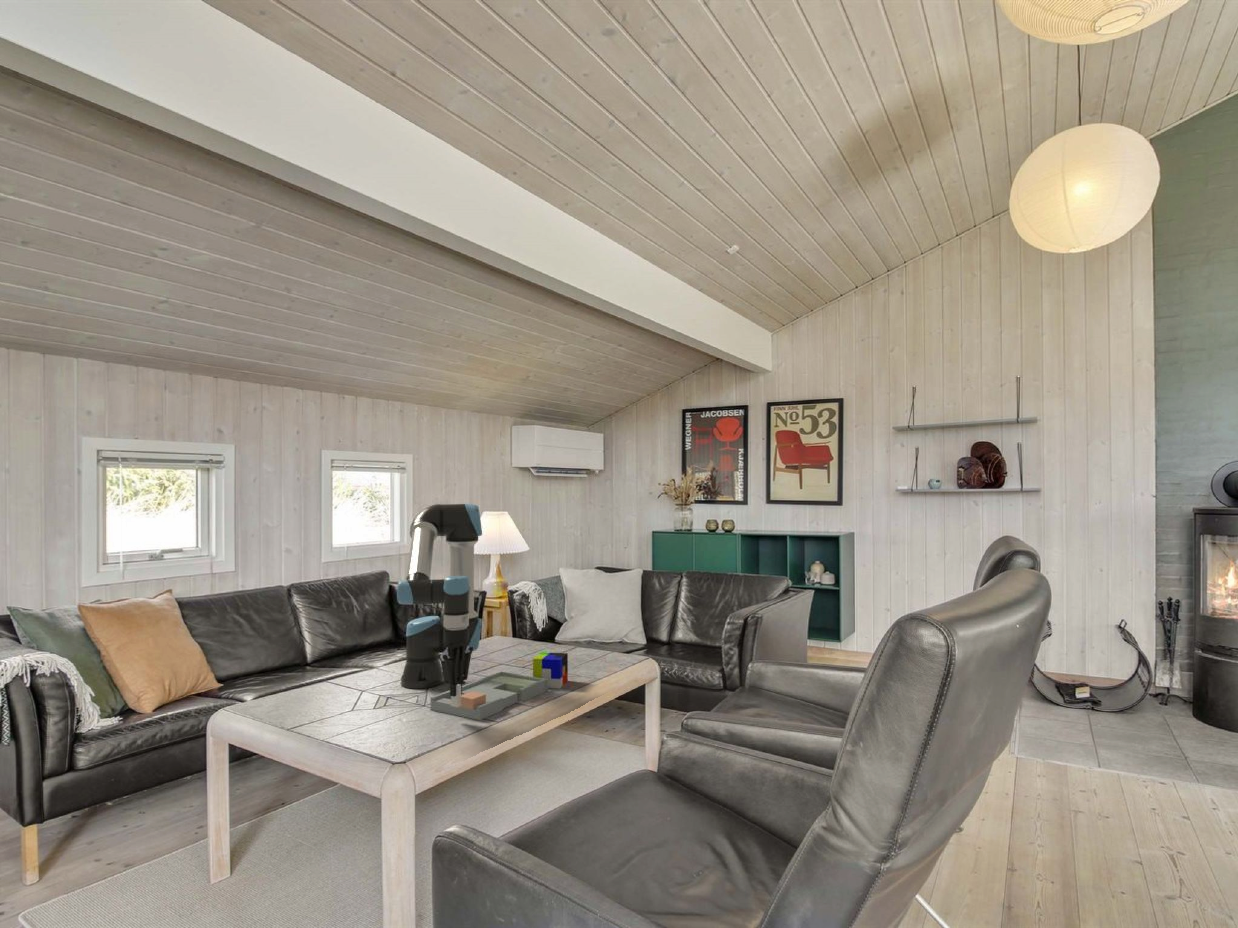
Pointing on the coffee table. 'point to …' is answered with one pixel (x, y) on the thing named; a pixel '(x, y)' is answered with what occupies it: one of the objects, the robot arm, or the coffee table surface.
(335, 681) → the coffee table surface
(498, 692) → the trap box
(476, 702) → the block
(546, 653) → the puzzle toy
